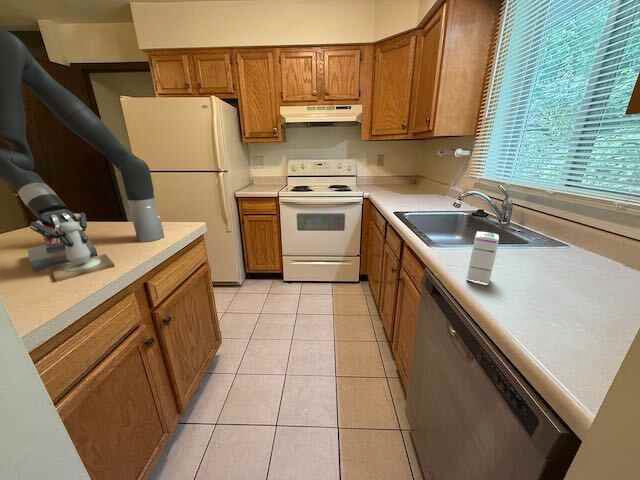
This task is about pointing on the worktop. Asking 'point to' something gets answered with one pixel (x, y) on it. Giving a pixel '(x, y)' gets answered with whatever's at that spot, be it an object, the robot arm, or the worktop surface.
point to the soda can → (50, 241)
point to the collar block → (52, 255)
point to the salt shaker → (75, 244)
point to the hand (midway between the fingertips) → (78, 243)
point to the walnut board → (81, 267)
